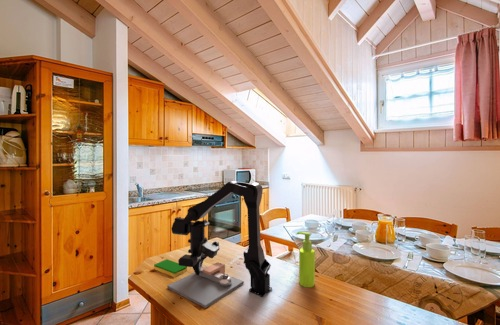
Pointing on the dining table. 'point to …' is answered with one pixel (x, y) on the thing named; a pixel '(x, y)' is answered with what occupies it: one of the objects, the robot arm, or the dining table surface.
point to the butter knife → (236, 258)
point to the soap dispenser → (306, 262)
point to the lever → (217, 278)
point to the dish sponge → (170, 268)
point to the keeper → (215, 268)
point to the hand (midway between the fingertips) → (197, 274)
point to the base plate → (202, 289)
